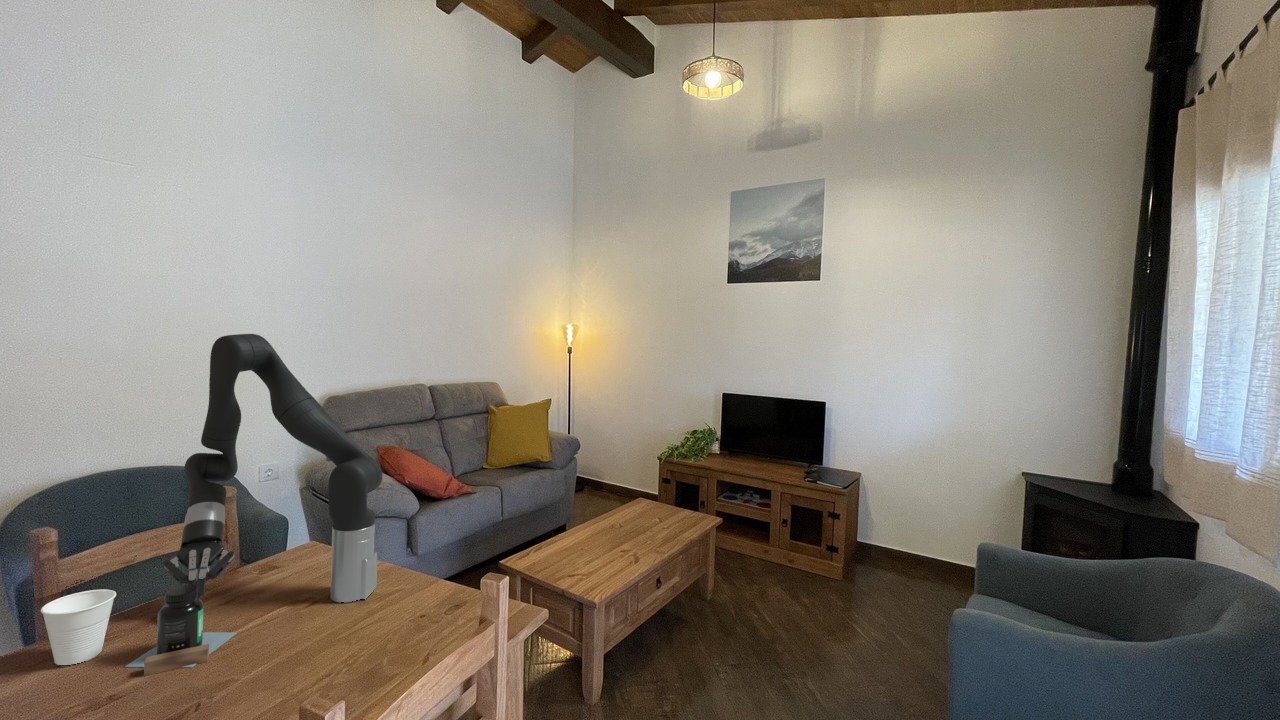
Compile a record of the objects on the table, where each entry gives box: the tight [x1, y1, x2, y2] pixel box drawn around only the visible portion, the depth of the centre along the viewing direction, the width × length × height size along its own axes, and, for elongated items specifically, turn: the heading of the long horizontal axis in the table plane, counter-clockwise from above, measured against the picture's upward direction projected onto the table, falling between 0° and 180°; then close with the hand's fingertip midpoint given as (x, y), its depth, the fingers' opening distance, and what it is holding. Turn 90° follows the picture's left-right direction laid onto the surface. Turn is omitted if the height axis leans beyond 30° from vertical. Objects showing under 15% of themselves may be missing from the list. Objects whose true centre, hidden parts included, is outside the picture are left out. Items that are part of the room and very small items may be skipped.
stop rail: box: [143, 644, 210, 677], centre depth 99 cm, size 9×2×2 cm, turn 123°
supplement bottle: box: [156, 584, 204, 655], centre depth 104 cm, size 7×7×12 cm
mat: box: [124, 631, 238, 669], centre depth 105 cm, size 12×12×1 cm
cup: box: [40, 588, 117, 666], centre depth 101 cm, size 10×10×11 cm
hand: (195, 598), depth 115 cm, fingers closed
